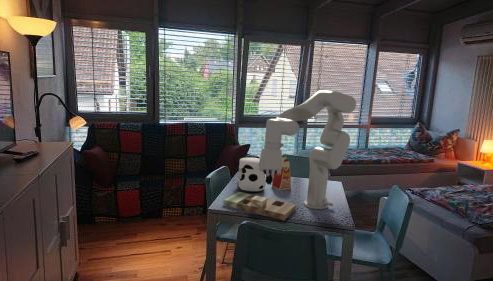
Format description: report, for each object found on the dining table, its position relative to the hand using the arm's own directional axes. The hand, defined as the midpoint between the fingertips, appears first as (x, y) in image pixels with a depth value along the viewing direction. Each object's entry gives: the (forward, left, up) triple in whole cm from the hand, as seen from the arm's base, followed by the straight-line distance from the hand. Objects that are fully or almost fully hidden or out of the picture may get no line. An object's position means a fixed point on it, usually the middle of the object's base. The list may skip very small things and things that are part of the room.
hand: (268, 183), depth 158 cm
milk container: (+24, -31, -16) cm, 42 cm away
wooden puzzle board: (+7, -7, -16) cm, 19 cm away
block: (+6, -3, -13) cm, 14 cm away
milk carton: (+11, -47, -16) cm, 51 cm away
